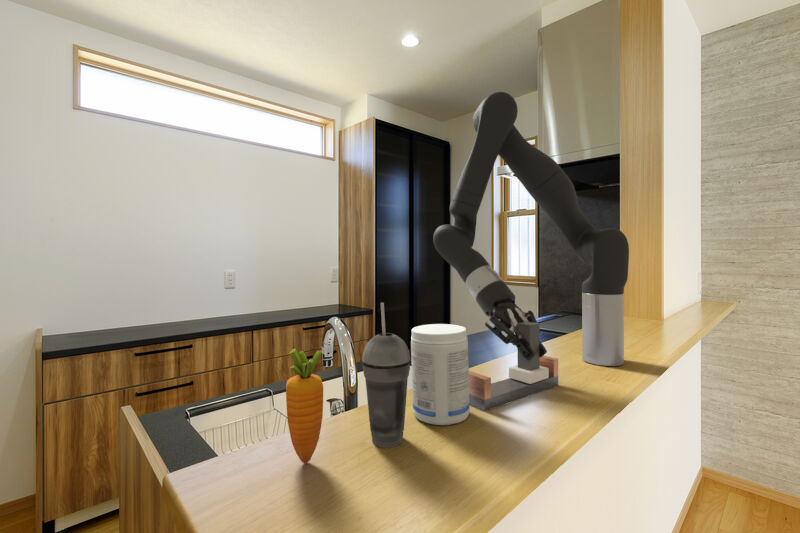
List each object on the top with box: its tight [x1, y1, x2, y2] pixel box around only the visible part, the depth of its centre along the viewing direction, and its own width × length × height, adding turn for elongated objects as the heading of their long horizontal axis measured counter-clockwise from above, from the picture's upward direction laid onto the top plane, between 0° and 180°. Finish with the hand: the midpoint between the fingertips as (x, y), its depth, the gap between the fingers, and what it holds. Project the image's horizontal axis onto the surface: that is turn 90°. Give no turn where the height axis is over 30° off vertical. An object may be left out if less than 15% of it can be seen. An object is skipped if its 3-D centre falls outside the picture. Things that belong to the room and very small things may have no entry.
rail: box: [469, 355, 559, 412], centre depth 72 cm, size 22×5×6 cm, turn 125°
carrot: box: [285, 348, 324, 464], centre depth 48 cm, size 5×5×15 cm
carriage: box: [508, 321, 549, 384], centre depth 75 cm, size 6×5×11 cm
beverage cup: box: [360, 302, 412, 449], centre depth 54 cm, size 7×7×20 cm
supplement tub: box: [410, 323, 471, 426], centre depth 63 cm, size 10×10×15 cm
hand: (537, 356), depth 73 cm, fingers closed on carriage, 3 cm apart
